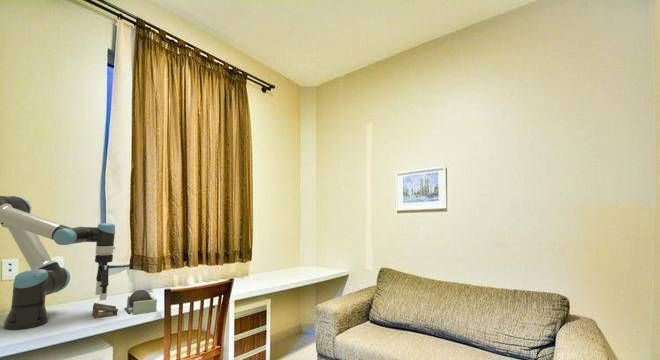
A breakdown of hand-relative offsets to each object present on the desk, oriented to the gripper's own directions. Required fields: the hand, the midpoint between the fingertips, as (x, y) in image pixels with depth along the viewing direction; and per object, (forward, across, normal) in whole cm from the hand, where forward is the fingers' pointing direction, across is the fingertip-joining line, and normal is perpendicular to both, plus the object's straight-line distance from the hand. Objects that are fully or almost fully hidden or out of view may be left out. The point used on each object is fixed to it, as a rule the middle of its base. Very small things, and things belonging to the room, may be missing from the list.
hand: (100, 297), depth 175 cm
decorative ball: (-1, +1, -19) cm, 19 cm away
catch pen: (+9, 0, -18) cm, 21 cm away
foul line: (+9, 0, -12) cm, 15 cm away
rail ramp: (+9, 0, -2) cm, 9 cm away
